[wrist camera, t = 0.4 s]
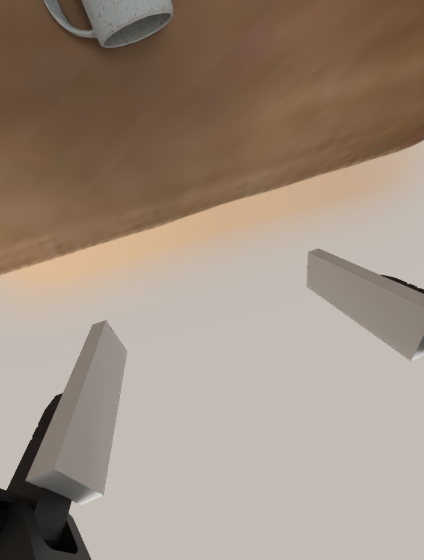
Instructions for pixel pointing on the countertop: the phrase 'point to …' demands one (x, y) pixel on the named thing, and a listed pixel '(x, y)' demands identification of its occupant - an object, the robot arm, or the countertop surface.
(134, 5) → the ceramic mug
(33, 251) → the countertop surface
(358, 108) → the countertop surface
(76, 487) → the robot arm
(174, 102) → the countertop surface
